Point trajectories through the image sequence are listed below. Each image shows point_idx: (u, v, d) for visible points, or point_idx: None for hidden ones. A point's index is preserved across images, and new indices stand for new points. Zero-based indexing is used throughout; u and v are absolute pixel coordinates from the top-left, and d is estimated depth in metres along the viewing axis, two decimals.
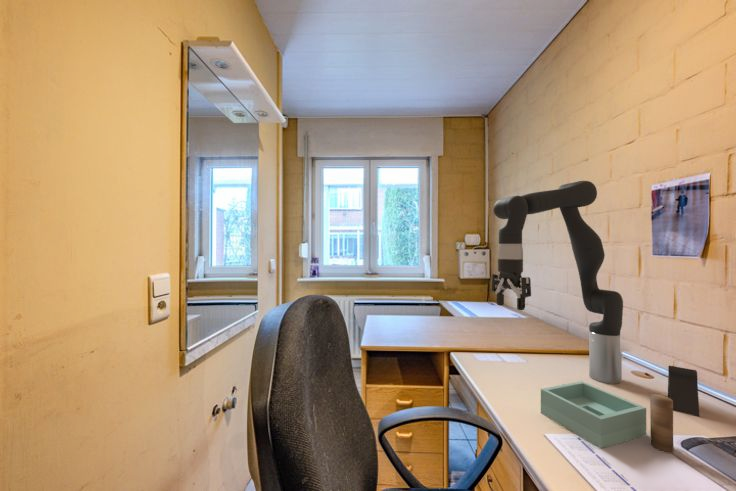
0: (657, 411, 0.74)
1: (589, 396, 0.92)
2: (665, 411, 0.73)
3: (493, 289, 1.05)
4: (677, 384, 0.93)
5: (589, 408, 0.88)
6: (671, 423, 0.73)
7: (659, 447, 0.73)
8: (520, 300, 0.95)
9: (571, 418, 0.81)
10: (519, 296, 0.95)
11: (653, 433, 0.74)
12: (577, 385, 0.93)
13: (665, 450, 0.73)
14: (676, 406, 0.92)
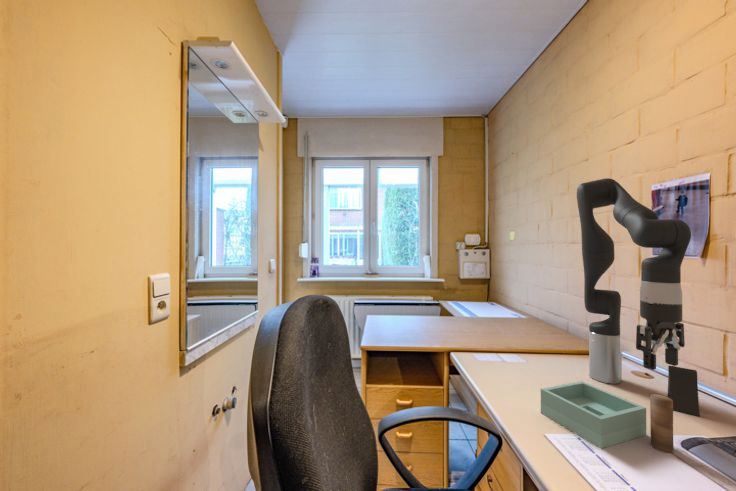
0: (657, 411, 0.74)
1: (589, 396, 0.92)
2: (665, 411, 0.73)
3: None
4: (677, 384, 0.93)
5: (589, 408, 0.88)
6: (671, 423, 0.73)
7: (659, 448, 0.73)
8: None
9: (571, 418, 0.81)
10: None
11: (653, 433, 0.74)
12: (577, 385, 0.93)
13: (665, 450, 0.73)
14: (676, 406, 0.92)
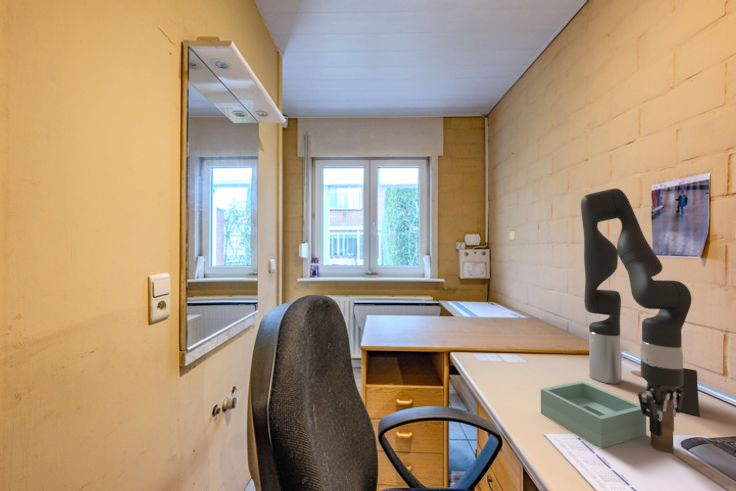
0: (657, 411, 0.74)
1: (589, 396, 0.92)
2: None
3: (656, 416, 0.72)
4: None
5: (589, 408, 0.88)
6: (671, 423, 0.73)
7: (659, 447, 0.73)
8: None
9: (571, 418, 0.81)
10: None
11: None
12: (577, 385, 0.93)
13: (665, 450, 0.73)
14: None
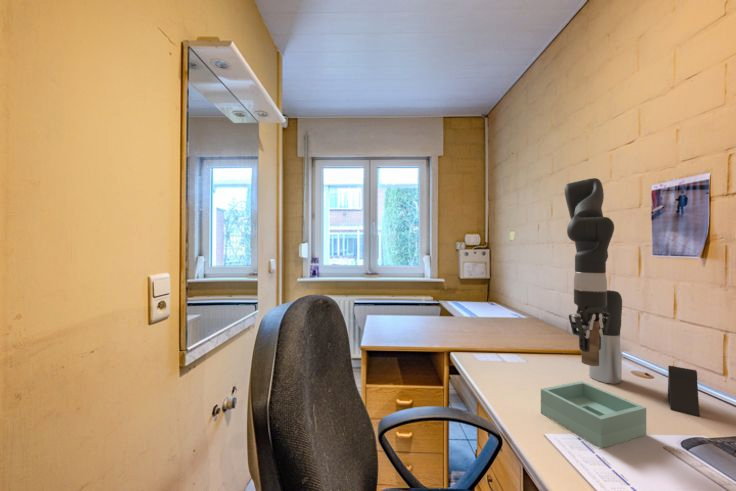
0: None
1: (589, 396, 0.92)
2: (592, 329, 0.83)
3: (583, 334, 0.83)
4: (677, 384, 0.93)
5: (589, 408, 0.88)
6: (597, 340, 0.83)
7: (587, 362, 0.84)
8: None
9: (571, 418, 0.81)
10: (602, 334, 0.85)
11: (583, 351, 0.85)
12: (577, 385, 0.93)
13: (591, 364, 0.83)
14: (676, 406, 0.92)
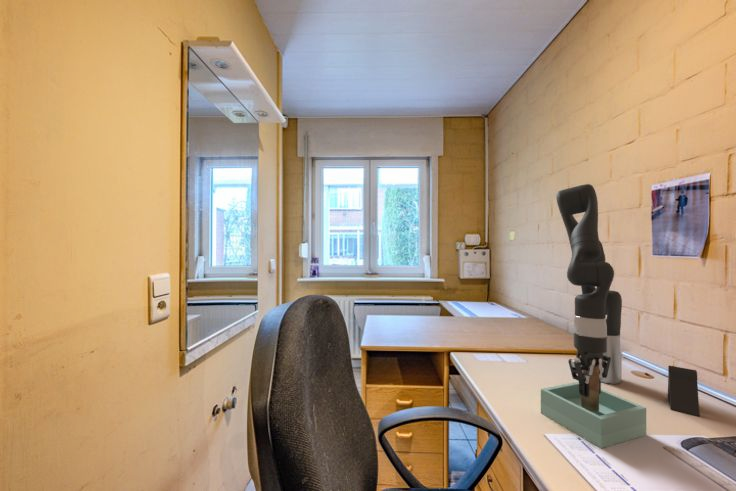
0: None
1: None
2: (592, 374, 0.83)
3: (583, 379, 0.82)
4: (677, 384, 0.93)
5: None
6: (597, 385, 0.83)
7: (587, 407, 0.84)
8: None
9: (571, 418, 0.81)
10: (601, 379, 0.85)
11: (582, 395, 0.85)
12: (577, 385, 0.93)
13: (591, 409, 0.83)
14: (676, 406, 0.92)
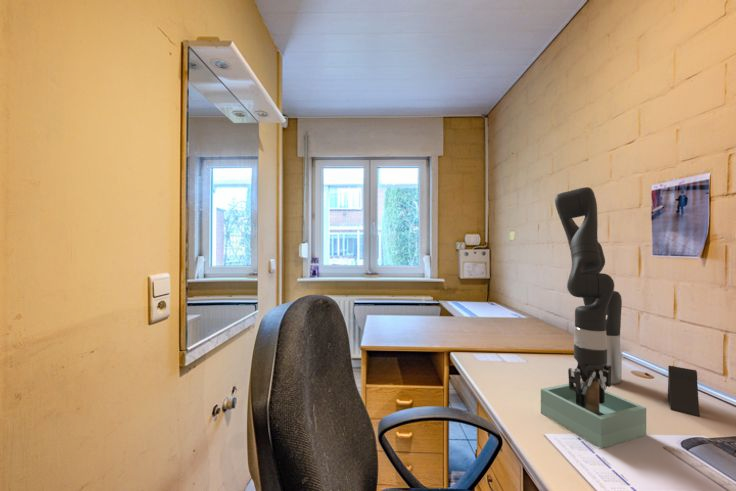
0: (586, 391, 0.84)
1: None
2: (592, 390, 0.83)
3: (579, 390, 0.82)
4: (677, 384, 0.93)
5: None
6: (597, 401, 0.83)
7: None
8: (603, 392, 0.86)
9: (571, 418, 0.81)
10: (605, 388, 0.85)
11: None
12: None
13: None
14: (676, 406, 0.92)
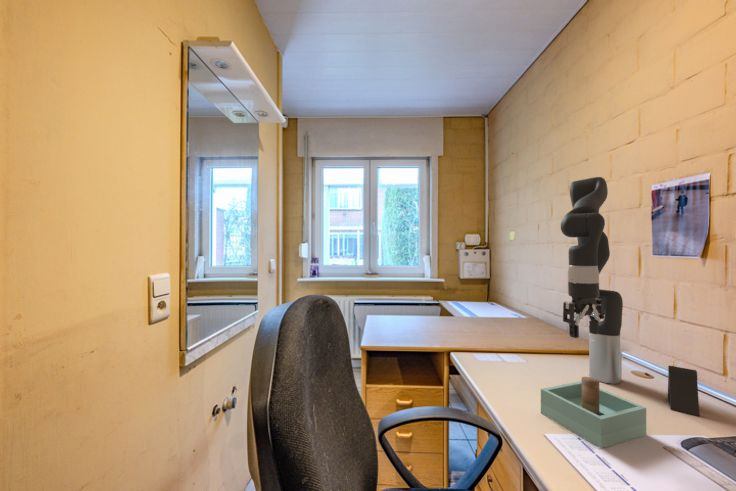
0: (586, 391, 0.84)
1: None
2: (592, 390, 0.83)
3: (572, 321, 0.87)
4: (677, 384, 0.93)
5: None
6: (597, 401, 0.83)
7: None
8: (597, 323, 0.91)
9: (571, 418, 0.81)
10: (599, 319, 0.91)
11: None
12: (577, 385, 0.93)
13: None
14: (676, 406, 0.92)
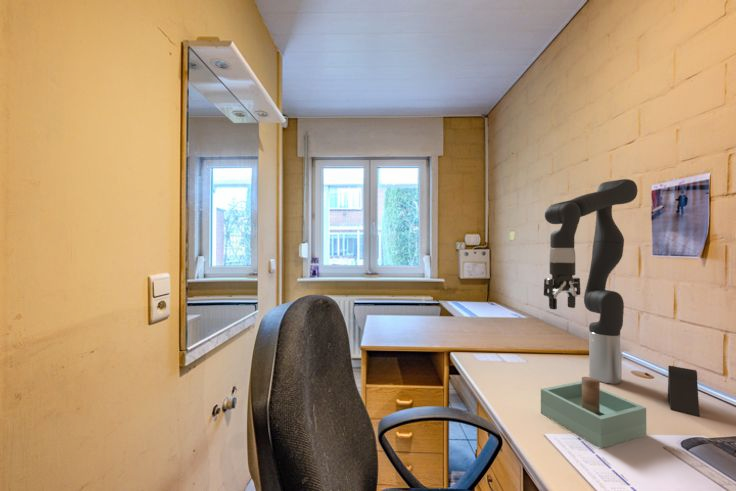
0: (586, 391, 0.84)
1: None
2: (592, 390, 0.83)
3: (551, 294, 1.02)
4: (677, 384, 0.93)
5: None
6: (597, 401, 0.83)
7: None
8: (574, 298, 1.06)
9: (571, 418, 0.81)
10: (576, 295, 1.05)
11: None
12: (577, 385, 0.93)
13: None
14: (676, 406, 0.92)
